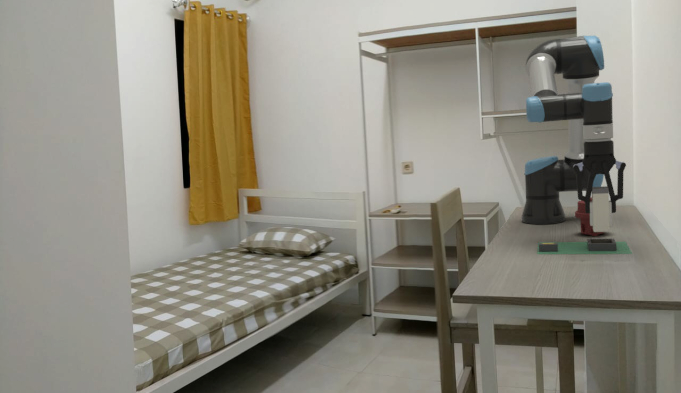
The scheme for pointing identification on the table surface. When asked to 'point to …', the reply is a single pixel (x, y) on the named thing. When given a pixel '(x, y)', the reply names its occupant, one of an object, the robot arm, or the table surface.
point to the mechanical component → (585, 220)
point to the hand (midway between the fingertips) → (600, 224)
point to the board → (584, 247)
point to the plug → (600, 209)
